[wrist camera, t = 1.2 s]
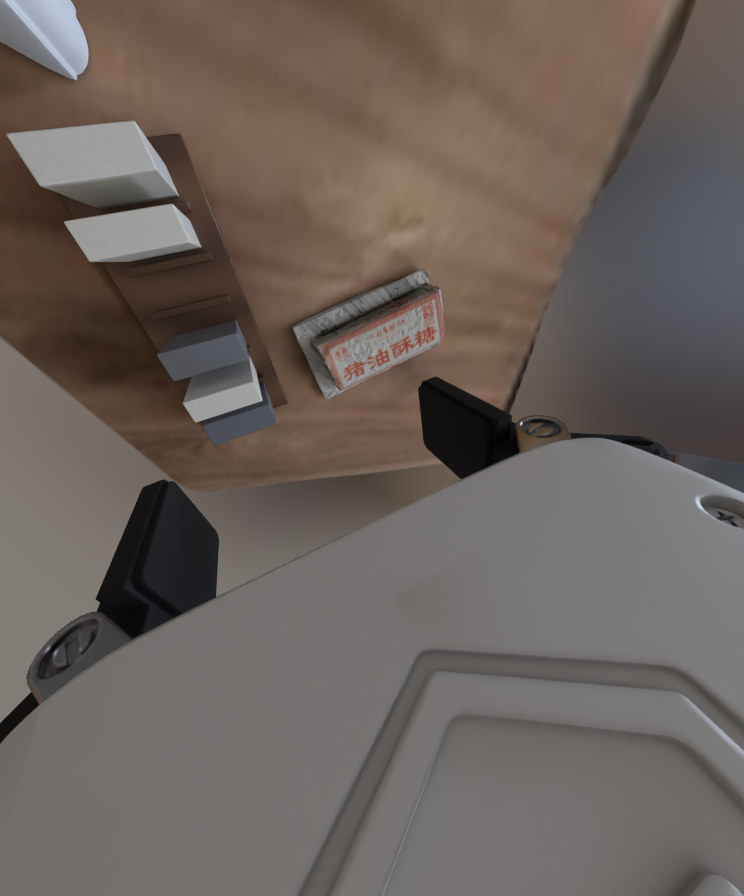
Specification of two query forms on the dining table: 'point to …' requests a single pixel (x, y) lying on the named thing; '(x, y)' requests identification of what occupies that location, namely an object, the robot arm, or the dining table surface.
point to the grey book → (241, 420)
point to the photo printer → (45, 34)
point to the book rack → (186, 272)
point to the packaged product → (372, 332)
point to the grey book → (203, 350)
